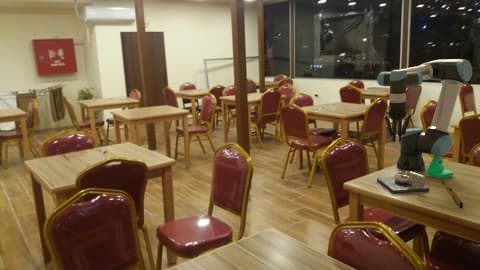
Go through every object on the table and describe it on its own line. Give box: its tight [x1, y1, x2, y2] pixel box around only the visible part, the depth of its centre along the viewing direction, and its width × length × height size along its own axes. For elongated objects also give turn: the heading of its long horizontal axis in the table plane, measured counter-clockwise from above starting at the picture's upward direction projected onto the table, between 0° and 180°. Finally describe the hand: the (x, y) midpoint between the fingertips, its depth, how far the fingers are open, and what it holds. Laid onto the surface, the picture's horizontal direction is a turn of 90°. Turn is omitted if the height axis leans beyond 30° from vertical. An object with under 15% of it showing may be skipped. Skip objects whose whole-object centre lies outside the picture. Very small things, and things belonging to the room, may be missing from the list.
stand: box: [376, 171, 431, 195], centre depth 199 cm, size 19×20×5 cm
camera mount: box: [425, 156, 454, 180], centre depth 210 cm, size 12×8×10 cm, turn 114°
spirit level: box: [441, 178, 464, 209], centre depth 185 cm, size 33×1×3 cm, turn 165°
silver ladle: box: [394, 171, 426, 188], centre depth 195 cm, size 17×8×6 cm, turn 21°
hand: (396, 148), depth 197 cm, fingers closed
